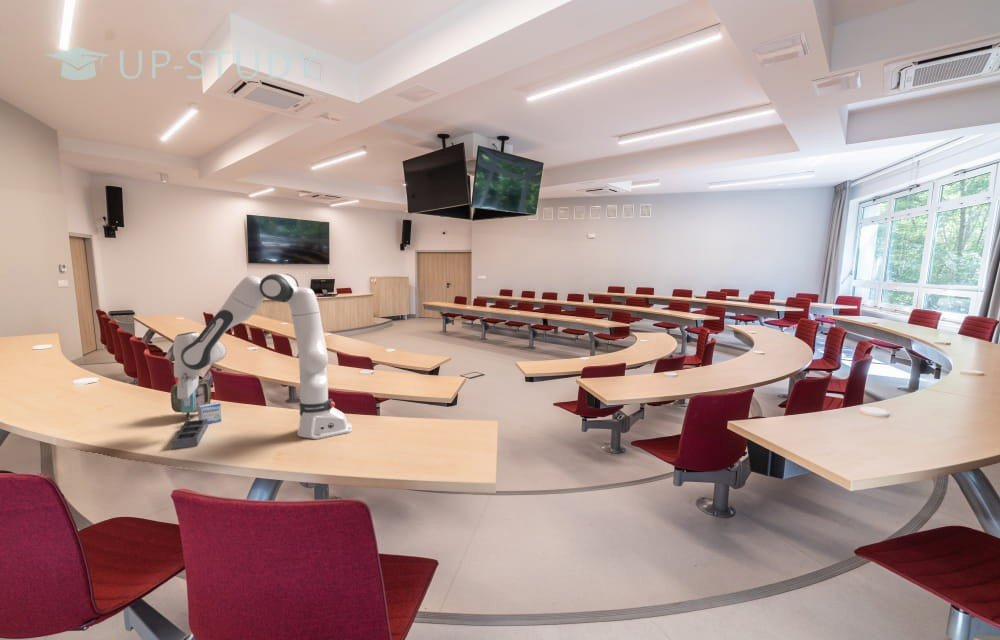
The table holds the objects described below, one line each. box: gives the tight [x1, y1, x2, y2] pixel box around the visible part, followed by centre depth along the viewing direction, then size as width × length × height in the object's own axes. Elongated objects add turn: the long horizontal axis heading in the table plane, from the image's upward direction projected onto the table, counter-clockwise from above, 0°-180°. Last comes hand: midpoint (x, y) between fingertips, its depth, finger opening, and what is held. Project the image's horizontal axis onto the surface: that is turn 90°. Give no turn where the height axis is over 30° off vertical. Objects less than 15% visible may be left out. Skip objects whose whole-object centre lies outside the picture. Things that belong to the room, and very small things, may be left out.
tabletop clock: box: [170, 378, 212, 421], centre depth 198 cm, size 14×9×25 cm, turn 179°
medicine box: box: [197, 401, 222, 425], centre depth 192 cm, size 8×4×9 cm, turn 143°
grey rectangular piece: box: [171, 419, 209, 450], centre depth 174 cm, size 8×24×4 cm, turn 27°
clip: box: [181, 391, 195, 414], centre depth 173 cm, size 4×4×8 cm
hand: (188, 403), depth 173 cm, fingers closed on clip, 4 cm apart
